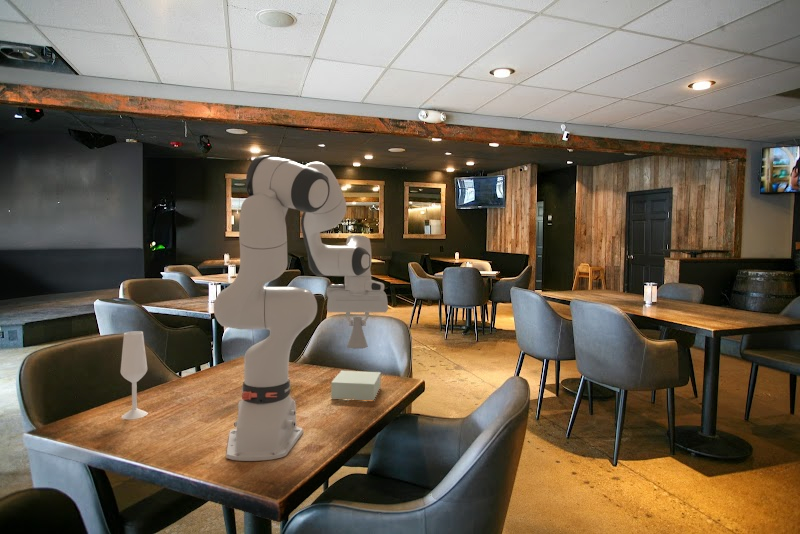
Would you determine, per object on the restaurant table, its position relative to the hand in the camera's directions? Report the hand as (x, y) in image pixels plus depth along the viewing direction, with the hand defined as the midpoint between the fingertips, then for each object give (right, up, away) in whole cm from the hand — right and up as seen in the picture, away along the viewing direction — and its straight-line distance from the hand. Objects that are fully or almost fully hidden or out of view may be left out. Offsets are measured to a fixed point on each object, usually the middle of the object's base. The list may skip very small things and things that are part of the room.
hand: (357, 325), depth 156 cm
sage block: (0, -23, +1) cm, 23 cm away
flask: (0, -7, 0) cm, 7 cm away
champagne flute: (-62, -23, -21) cm, 70 cm away
